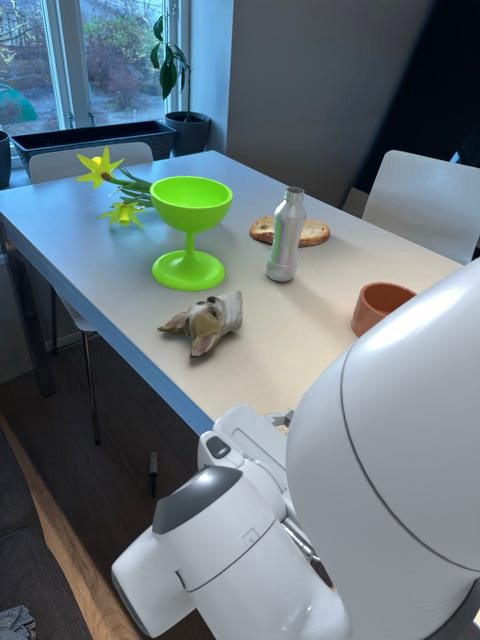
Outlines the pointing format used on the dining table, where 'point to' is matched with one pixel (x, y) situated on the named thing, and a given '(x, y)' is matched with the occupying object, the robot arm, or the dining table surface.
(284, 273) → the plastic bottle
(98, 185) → the daffodil flowers
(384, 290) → the terracotta bowl
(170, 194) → the wineglass
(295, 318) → the dining table surface
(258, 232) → the bread slice
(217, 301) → the ceramic sculpture
